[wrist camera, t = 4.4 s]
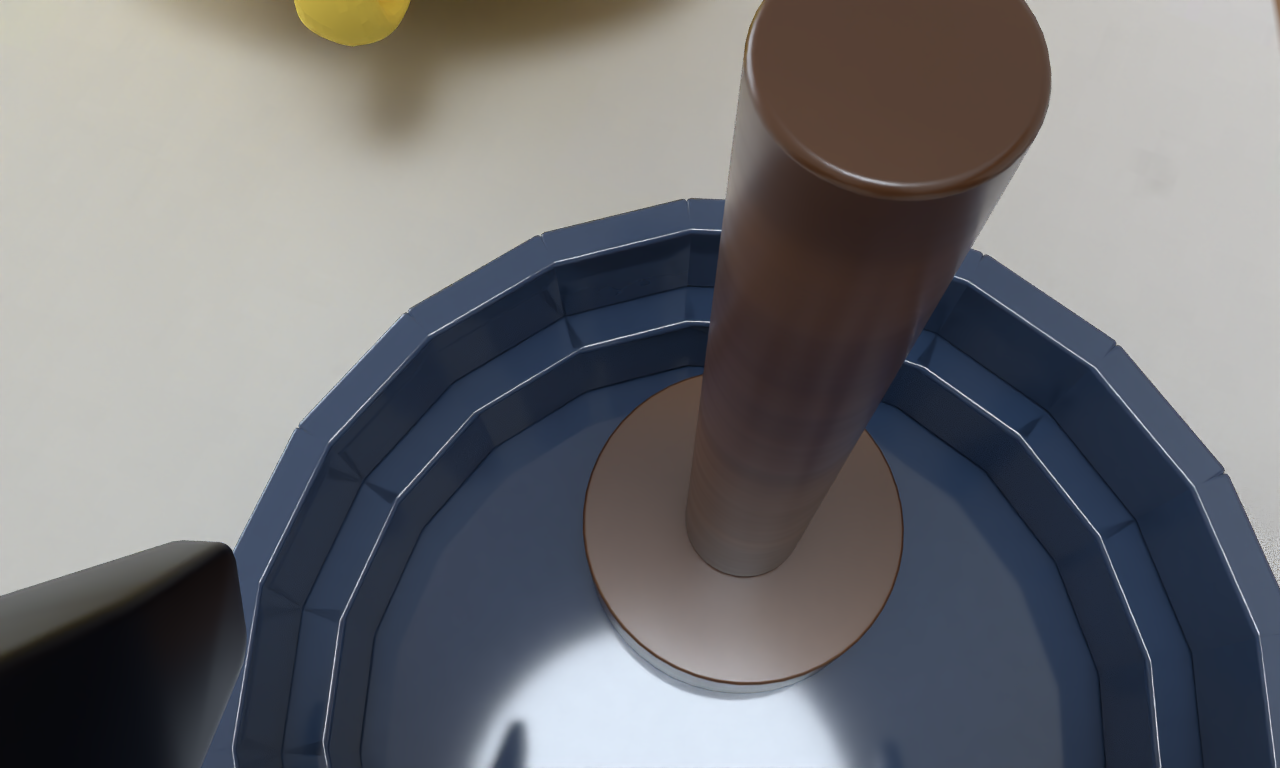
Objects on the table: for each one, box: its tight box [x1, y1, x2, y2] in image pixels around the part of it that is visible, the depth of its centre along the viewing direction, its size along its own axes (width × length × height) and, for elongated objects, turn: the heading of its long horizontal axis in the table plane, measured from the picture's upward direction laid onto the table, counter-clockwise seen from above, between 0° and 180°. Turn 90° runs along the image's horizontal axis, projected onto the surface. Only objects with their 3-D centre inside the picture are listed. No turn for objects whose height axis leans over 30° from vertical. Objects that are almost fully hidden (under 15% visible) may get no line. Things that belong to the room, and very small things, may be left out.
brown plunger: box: [583, 0, 1051, 693], centre depth 13 cm, size 5×5×14 cm
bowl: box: [201, 198, 1280, 768], centre depth 17 cm, size 14×14×4 cm
